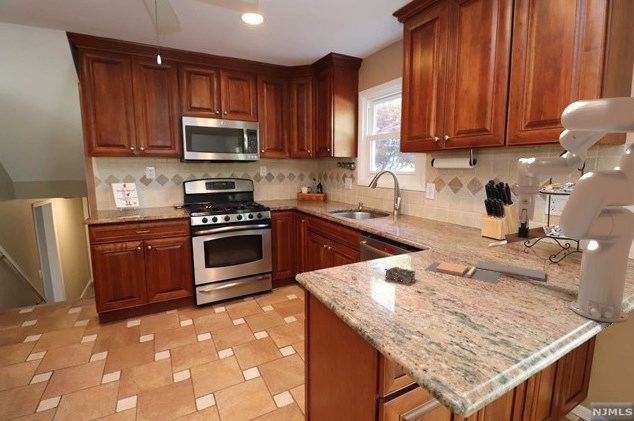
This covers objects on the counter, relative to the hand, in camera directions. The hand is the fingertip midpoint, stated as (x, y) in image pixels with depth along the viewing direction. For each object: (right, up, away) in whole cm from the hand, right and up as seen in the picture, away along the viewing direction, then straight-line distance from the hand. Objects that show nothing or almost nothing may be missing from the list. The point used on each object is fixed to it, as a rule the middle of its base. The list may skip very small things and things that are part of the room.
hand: (523, 236), depth 122 cm
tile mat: (-23, -15, +3) cm, 27 cm away
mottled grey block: (-49, -17, -2) cm, 52 cm away
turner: (-2, -3, +2) cm, 4 cm away
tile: (-22, -14, +3) cm, 26 cm away
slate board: (-3, -15, +5) cm, 16 cm away
